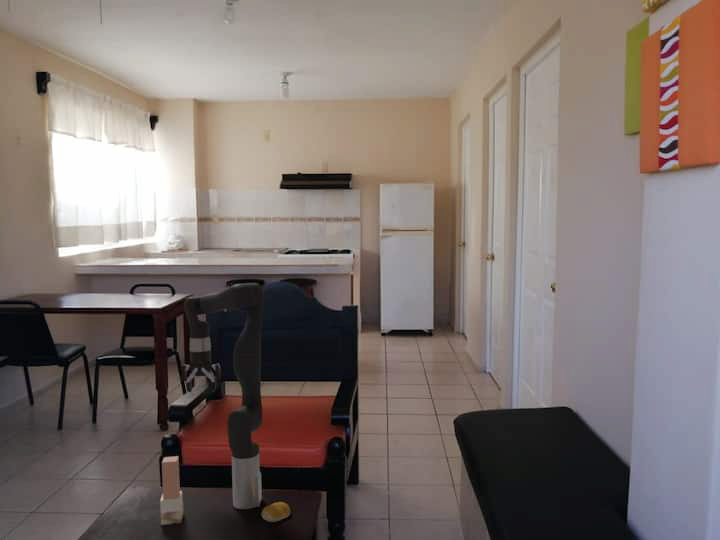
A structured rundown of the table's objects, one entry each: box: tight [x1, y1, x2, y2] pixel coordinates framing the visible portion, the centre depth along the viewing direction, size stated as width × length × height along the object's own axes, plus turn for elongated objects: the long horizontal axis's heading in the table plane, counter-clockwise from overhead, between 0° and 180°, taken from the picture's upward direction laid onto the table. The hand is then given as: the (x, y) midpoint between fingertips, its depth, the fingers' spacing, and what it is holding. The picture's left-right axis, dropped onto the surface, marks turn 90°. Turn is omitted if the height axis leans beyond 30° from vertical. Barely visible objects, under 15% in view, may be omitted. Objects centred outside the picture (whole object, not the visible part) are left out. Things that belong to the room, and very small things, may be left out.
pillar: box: [161, 455, 181, 500], centre depth 181 cm, size 4×4×12 cm
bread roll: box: [261, 501, 291, 523], centre depth 184 cm, size 8×9×4 cm
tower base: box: [160, 502, 184, 526], centre depth 182 cm, size 6×6×4 cm
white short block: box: [159, 490, 184, 514], centre depth 182 cm, size 6×6×4 cm
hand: (201, 391), depth 212 cm, fingers open, 8 cm apart
